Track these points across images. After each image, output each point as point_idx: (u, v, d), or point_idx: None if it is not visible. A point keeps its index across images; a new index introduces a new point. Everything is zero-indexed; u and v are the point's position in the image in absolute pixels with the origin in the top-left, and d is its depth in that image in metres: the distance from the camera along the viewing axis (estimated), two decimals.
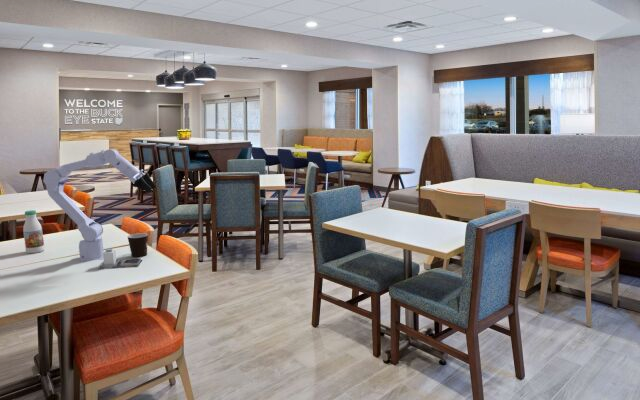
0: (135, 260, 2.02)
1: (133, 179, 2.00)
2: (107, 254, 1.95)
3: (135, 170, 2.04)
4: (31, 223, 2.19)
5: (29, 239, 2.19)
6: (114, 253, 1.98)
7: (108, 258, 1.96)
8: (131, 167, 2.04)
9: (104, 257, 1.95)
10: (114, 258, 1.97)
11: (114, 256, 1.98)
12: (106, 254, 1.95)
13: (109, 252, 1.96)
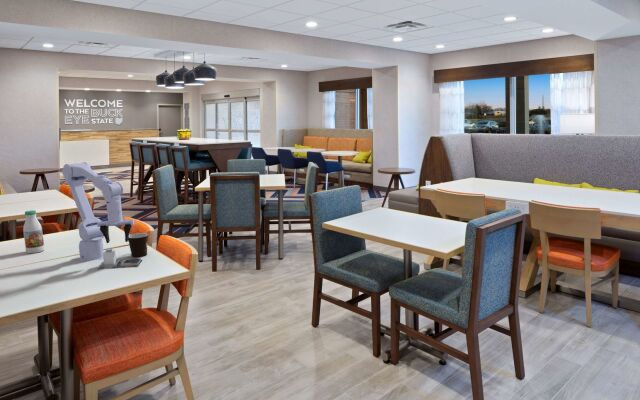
0: (135, 260, 2.02)
1: None
2: (107, 254, 1.95)
3: (109, 219, 1.96)
4: (31, 223, 2.19)
5: (29, 239, 2.19)
6: (114, 253, 1.98)
7: (108, 258, 1.96)
8: (109, 214, 1.95)
9: (104, 257, 1.95)
10: (114, 258, 1.97)
11: (114, 256, 1.98)
12: (106, 254, 1.95)
13: (109, 252, 1.96)
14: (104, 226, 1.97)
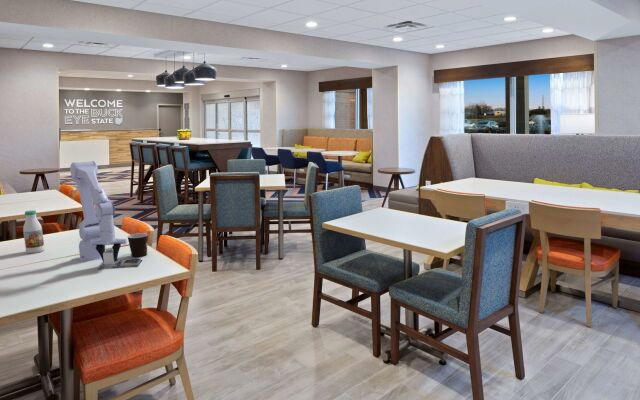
0: (135, 260, 2.02)
1: None
2: (107, 254, 1.95)
3: (101, 238, 1.94)
4: (31, 223, 2.19)
5: (29, 239, 2.19)
6: None
7: (108, 258, 1.96)
8: (101, 233, 1.93)
9: (104, 257, 1.95)
10: None
11: None
12: (106, 254, 1.95)
13: (109, 252, 1.96)
14: (96, 245, 1.95)
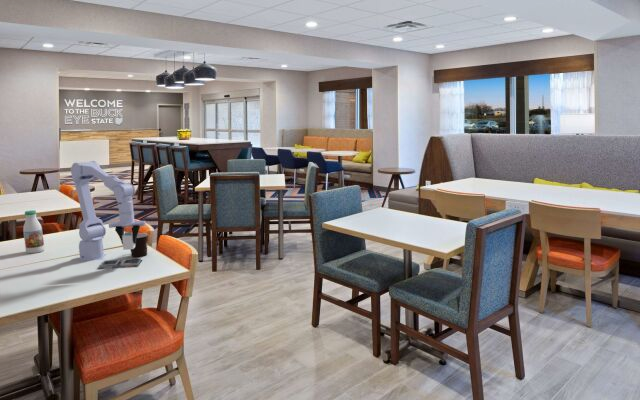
0: (135, 260, 2.02)
1: None
2: (126, 237, 1.95)
3: (121, 220, 1.94)
4: (31, 223, 2.19)
5: (29, 239, 2.19)
6: None
7: (127, 241, 1.95)
8: (120, 215, 1.93)
9: (123, 240, 1.95)
10: None
11: None
12: (125, 237, 1.95)
13: (128, 235, 1.96)
14: (116, 227, 1.95)
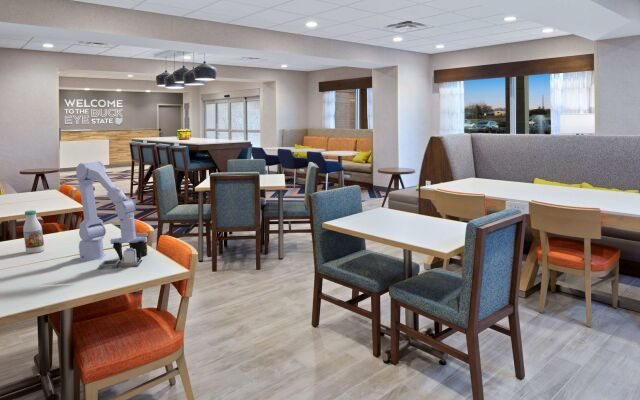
0: None
1: None
2: (128, 253, 1.96)
3: (122, 236, 1.95)
4: (31, 223, 2.19)
5: (29, 239, 2.19)
6: (134, 252, 1.99)
7: (129, 257, 1.97)
8: (122, 231, 1.94)
9: (125, 256, 1.96)
10: (134, 257, 1.99)
11: (134, 255, 1.99)
12: (127, 253, 1.96)
13: (130, 251, 1.97)
14: (117, 243, 1.96)
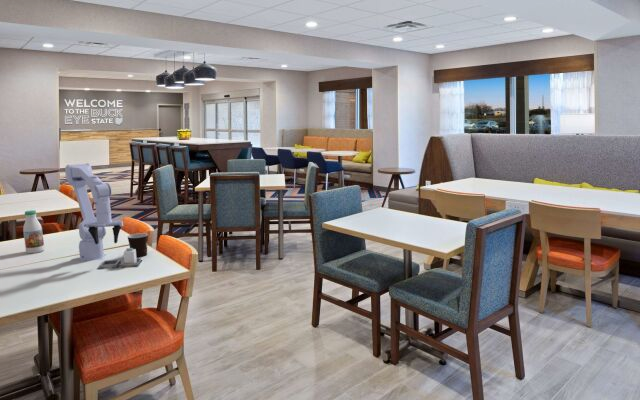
0: None
1: None
2: (128, 253, 1.96)
3: (98, 220, 1.94)
4: (31, 223, 2.19)
5: (29, 239, 2.19)
6: (134, 252, 1.99)
7: (129, 257, 1.97)
8: (97, 215, 1.94)
9: (125, 256, 1.96)
10: (134, 257, 1.99)
11: (134, 255, 1.99)
12: (127, 253, 1.96)
13: (130, 251, 1.97)
14: (93, 227, 1.96)
